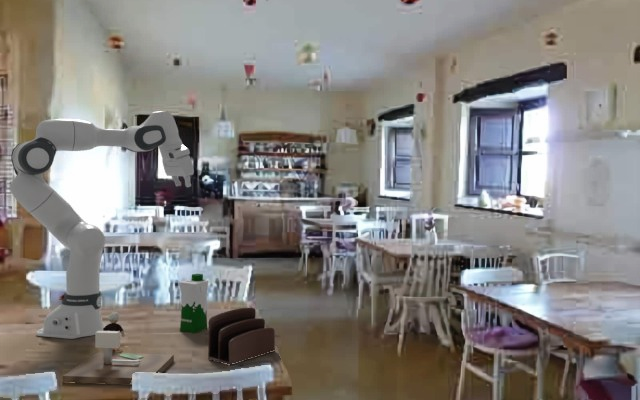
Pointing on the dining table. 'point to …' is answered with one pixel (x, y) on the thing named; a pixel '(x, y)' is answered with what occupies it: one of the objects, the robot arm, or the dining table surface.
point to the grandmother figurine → (114, 328)
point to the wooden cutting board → (117, 368)
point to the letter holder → (238, 336)
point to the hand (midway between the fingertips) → (183, 186)
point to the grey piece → (109, 345)
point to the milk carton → (193, 304)
